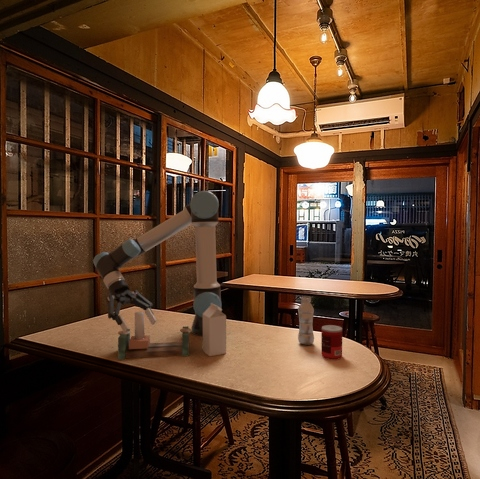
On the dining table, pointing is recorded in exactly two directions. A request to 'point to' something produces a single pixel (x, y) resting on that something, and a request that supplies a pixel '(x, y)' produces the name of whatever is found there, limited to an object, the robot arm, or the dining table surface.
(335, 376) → the dining table surface
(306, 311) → the plastic bottle
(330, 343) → the canned food
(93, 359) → the dining table surface
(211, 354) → the milk carton
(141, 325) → the carriage
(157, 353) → the rail board
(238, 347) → the dining table surface
